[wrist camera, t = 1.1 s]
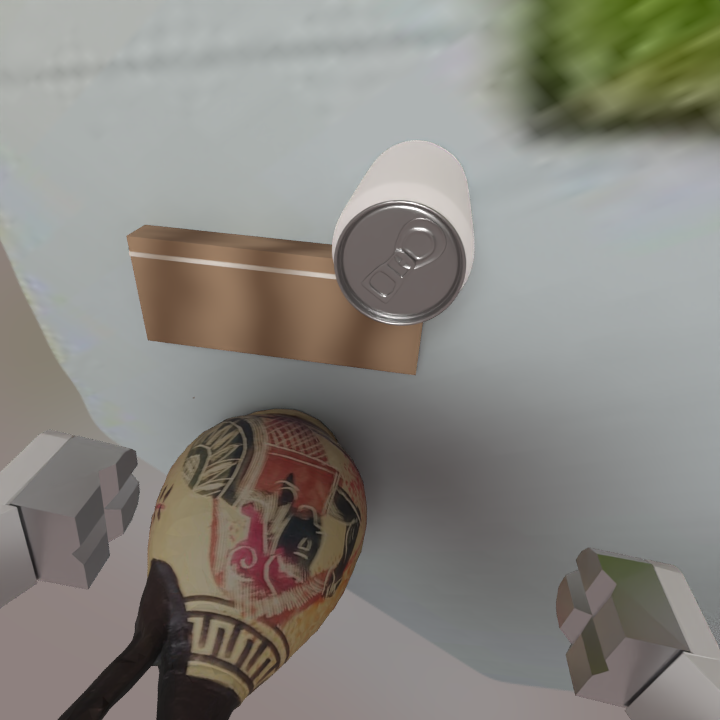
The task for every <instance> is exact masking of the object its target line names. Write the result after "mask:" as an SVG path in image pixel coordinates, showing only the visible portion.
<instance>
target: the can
mask: <svg viewBox="0 0 720 720" xmlns="http://www.w3.org/2000/svg"><path fill="white" fill-rule="evenodd" d="M474 250H475V246H474V230H473V221H472V212H471V204H470V196H469V189H468V183H467V179H466V176H465V173H464V170H463V168H462V166H461V164H460V163H459V161H458V160H457V159H456V158H455V157H454V156H453V155H452V154H451V153H450V152H448V151H447V150H445V149H444V148H442V147H440V146H438V145H436V144H434V143H431V142H428V141H421V140H413V141H406V142H402V143H399V144H397V145H394V146H392V147H391V148H389V149H387V150H386V151H385V152H383V153H382V154H381V155H380V156H379V157H378V158H377V159H376V160H375V161H374V163H373V164H372V165H371V167H370V168H369V170H368V171H367V173H366V174H365V176H364V178H363V179H362V181H361V182H360V184H359V185H358V187H357V189H356V190H355V192H354V193H353V195H352V197H351V198H350V200H349V202H348V203H347V205H346V207H345V208H344V210H343V212H342V214H341V216H340V218H339V220H338V222H337V225H336V228H335V231H334V235H333V241H332V257H333V263H334V271H335V276H336V280H337V283H338V285H339V287H340V289H341V291H342V293H343V295H344V296H345V298H346V299H347V300H348V301H349V303H350V304H351V305H352V306H353V307H354V308H355V309H357V310H358V311H359V312H360V313H362V314H363V315H365V316H367V317H368V318H370V319H372V320H375V321H377V322H380V323H384V324H388V325H396V326H406V325H414V324H418V323H422V322H425V321H427V320H430V319H432V318H434V317H435V316H437V315H439V314H440V313H442V312H443V311H444V310H445V309H446V308H447V307H448V306H449V305H450V304H451V303H452V302H453V301H454V299H455V298H456V297H457V295H458V293H459V292H460V290H461V289H462V288H463V286H464V285H465V283H466V281H467V279H468V277H469V275H470V272H471V269H472V265H473V260H474Z"/></svg>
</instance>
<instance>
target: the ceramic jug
mask: <svg viewBox="0 0 720 720" xmlns="http://www.w3.org/2000/svg"><path fill="white" fill-rule="evenodd" d="M194 398H195V397H194ZM366 524H367V505H366V497H365V491H364V484H363V481H362V478H361V476H360V473H359V471H358V469H357V467H356V465H355V463H354V461H353V460H352V459H351V458H350V456H349V455H348V454H347V453H346V452H345V450H344V449H343V448H342V447H341V446H340V445H339V444H338V442H337V440H336V438H335V437H334V435H333V433H332V432H331V431H330V430H329V429H328V428H327V427H326V426H325V425H324V424H323V423H322V422H321V421H319V420H317V419H316V418H314V417H312V416H310V415H308V414H305V413H303V412H301V411H297V410H291V409H270V410H264V411H258V412H254V413H251V414H249V415H245V416H238V417H232V418H229V419H226V420H224V421H223V422H221V423H219V424H218V425H216V426H214V427H212V428H210V429H208V430H207V431H205V432H203V433H202V434H201V435H200V436H199V437H198V438H196V439H195V440H194V441H193V442H192V443H191V444H190V445H189V446H188V447H187V448H186V449H185V451H184V452H183V453H182V454H181V455H180V456H179V457H178V459H177V460H176V462H175V463H174V465H173V466H172V467H171V469H170V471H169V473H168V475H167V478H166V480H165V483H164V485H163V487H162V489H161V492H160V494H159V497H158V499H157V503H156V506H155V511H154V514H153V515H152V521H151V526H150V533H149V542H148V574H147V577H148V578H147V583H146V586H145V589H144V592H143V595H142V598H141V602H140V607H139V612H138V616H137V620H136V623H135V633H134V636H133V640H132V641H131V643H130V644H129V645H128V647H127V648H126V649H125V650H124V651H123V652H122V653H121V654H120V655H119V656H118V657H117V658H116V659H115V660H114V661H113V662H112V663H111V664H110V665H109V666H108V667H107V668H106V669H105V670H104V671H103V672H102V673H101V674H100V676H98V678H97V679H96V680H95V681H94V682H93V683H92V684H91V685H90V687H89V688H88V689H87V690H86V691H85V692H84V693H83V694H82V695H81V696H80V697H79V698H78V699H77V700H76V701H75V702H74V703H73V704H72V705H71V706H70V707H69V708H68V709H67V710H66V711H65V712H64V713H63V715H61V716H60V718H59V719H58V720H102V719H103V717H104V716H105V715H106V714H107V712H108V711H109V709H110V708H111V707H112V706H113V705H114V704H115V703H116V702H118V700H120V699H121V698H122V697H123V696H124V695H125V694H126V693H127V692H128V691H129V690H130V689H131V688H132V687H133V686H134V685H135V683H136V682H137V681H138V680H139V679H140V678H141V677H142V676H143V675H144V673H145V672H146V671H147V670H148V669H149V668H150V667H151V666H158V668H159V681H158V702H157V720H228V719H229V717H230V715H231V713H232V712H233V710H234V709H236V708H237V707H239V706H240V705H241V703H242V702H243V700H244V699H245V698H246V697H247V696H248V695H250V694H251V693H252V692H253V691H254V690H255V689H256V688H258V687H259V686H260V685H261V684H262V683H264V682H265V681H266V680H267V679H268V678H270V677H271V676H272V675H273V674H274V673H275V672H276V671H277V670H278V669H279V668H280V667H281V666H282V665H283V664H284V663H286V662H287V660H288V659H289V658H290V657H291V656H292V655H293V654H294V653H295V652H296V651H297V650H298V649H299V648H300V647H301V646H302V645H303V644H304V643H305V642H306V641H307V640H308V639H309V638H310V637H311V636H312V635H313V634H314V633H315V632H316V631H318V629H319V628H320V626H321V625H322V623H323V622H324V621H325V619H326V618H327V617H328V615H329V614H330V612H331V611H332V610H333V609H334V608H335V606H336V604H337V602H338V601H339V599H340V598H341V596H342V594H343V593H344V591H345V588H346V586H347V584H348V581H349V579H350V577H351V575H352V573H353V570H354V567H355V565H356V562H357V559H358V557H359V555H360V553H361V550H362V545H363V540H364V535H365V530H366Z"/></svg>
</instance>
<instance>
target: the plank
mask: <svg viewBox="0 0 720 720" xmlns="http://www.w3.org/2000/svg"><path fill="white" fill-rule="evenodd" d="M127 241H128V246H129V255H130V256H131V260H132V265H133V270H134V275H135V280H136V285H137V289H138V294H139V299H140V304H141V309H142V314H143V319H144V323H145V328H146V333H147V338H148V340H150V341H158V342H165V343H173V344H181V345H188V346H196V347H204V348H212V349H219V350H227V351H235V352H242V353H250V354H258V355H265V356H273V357H281V358H288V359H296V360H304V361H311V362H319V363H327V364H334V365H342V366H350V367H357V368H365V369H373V370H380V371H388V372H396V373H403V374H411V375H416V368H417V361H418V353H419V346H420V339H421V332H422V325H423V322H422V323H418V324H414V325H406V326H396V325H388V324H384V323H380V322H377V321H375V320H372V319H370V318H368V317H367V316H365V315H363V314H362V313H360V312H359V311H358V310H357V309H355V308H354V307H353V306H352V305H351V304H350V303H349V301H348V300H347V299H346V298H345V296H344V295H343V293H342V291H341V289H340V287H339V285H338V283H337V280H336V276H335V271H334V263H333V257H332V245H330V244H320V243H311V242H301V241H292V240H283V239H273V238H264V237H255V236H245V235H236V234H226V233H217V232H208V231H198V230H189V229H180V228H170V227H161V226H151V225H144V226H142V227H141V228H139V229H137V230H136V231H134V232H132V233H131V234H129V235H127Z"/></svg>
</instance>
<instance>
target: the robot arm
mask: <svg viewBox="0 0 720 720" xmlns="http://www.w3.org/2000/svg"><path fill="white" fill-rule="evenodd" d="M137 464H138V463H137V455H136V451H135V450H133V449H130V448H126V447H122V446H118V445H114V444H110V443H105V442H101V441H97V440H93V439H89V438H85V437H80V436H75V435H71V434H67V433H63V432H58V431H54V430H47V431H45V432H42V433H40V434H39V435H38V436H37V437H36V438H35V439H34V440H33V441H32V442H31V443H30V444H29V445H27V447H25V448H24V449H23V450H22V451H21V453H19V454H18V455H17V456H16V457H15V458H14V459H13V460H12V461H11V462H10V463H9V464H8V465H7V466H6V467H5V468H4V469H3V470H2V471H1V472H0V608H1V607H3V606H4V605H6V604H7V603H9V602H10V601H12V600H13V599H15V598H16V597H18V596H19V595H21V594H22V593H24V592H25V591H27V590H28V589H30V588H31V587H32V586H34V585H35V584H37V580H40V581H45V582H50V583H56V584H61V585H66V586H72V587H77V588H82V589H89V588H90V586H91V584H92V583H93V581H94V580H95V578H96V577H97V575H98V573H99V572H100V570H101V569H102V567H103V566H104V564H105V562H106V561H107V559H108V558H109V556H110V553H109V544H108V542H110V541H112V540H113V539H115V538H117V537H119V536H121V535H122V534H124V532H125V531H126V529H127V527H128V525H129V524H130V522H131V520H132V518H133V515H134V513H135V510H136V508H137V505H138V500H139V493H140V490H139V482H138V481H137V479H136V478H135V477H134V476H133V475H132V472H133V470H134V469H135V468H136V466H137ZM576 562H577V566H578V570H576V571H574V572H571V573H569V574H567V575H565V577H564V579H563V580H562V582H561V584H560V586H559V588H558V594H557V599H556V610H557V618H558V623H559V628H560V630H561V631H562V632H563V633H564V635H565V636H566V637H567V638H568V640H569V641H570V642H571V645H570V647H569V649H568V651H567V653H566V658H567V662H568V666H569V671H570V675H571V679H572V683H573V688H574V692H575V695H576V696H580V697H583V698H587V699H591V700H596V701H600V702H604V703H608V704H612V705H616V706H620V707H624V708H627V709H626V710H625V712H626V713H627V715H628V716H629V718H630V719H631V720H720V648H719V646H718V644H717V642H716V640H715V638H714V636H713V634H712V632H711V630H710V628H709V626H708V624H707V622H706V620H705V618H704V616H703V614H702V612H701V610H700V608H699V606H698V604H697V602H696V600H695V598H694V596H693V594H692V592H691V590H690V588H689V586H688V584H687V582H686V580H685V578H684V576H683V574H682V572H681V571H680V570H679V569H678V568H677V567H676V566H674V565H670V564H665V563H660V562H656V561H651V560H643V559H642V558H638V557H633V556H628V555H623V554H618V553H613V552H609V551H604V550H599V549H594V548H587V549H585V550H583V551H582V552H581V553H580V554H579V556H578V557H577V559H576Z"/></svg>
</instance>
